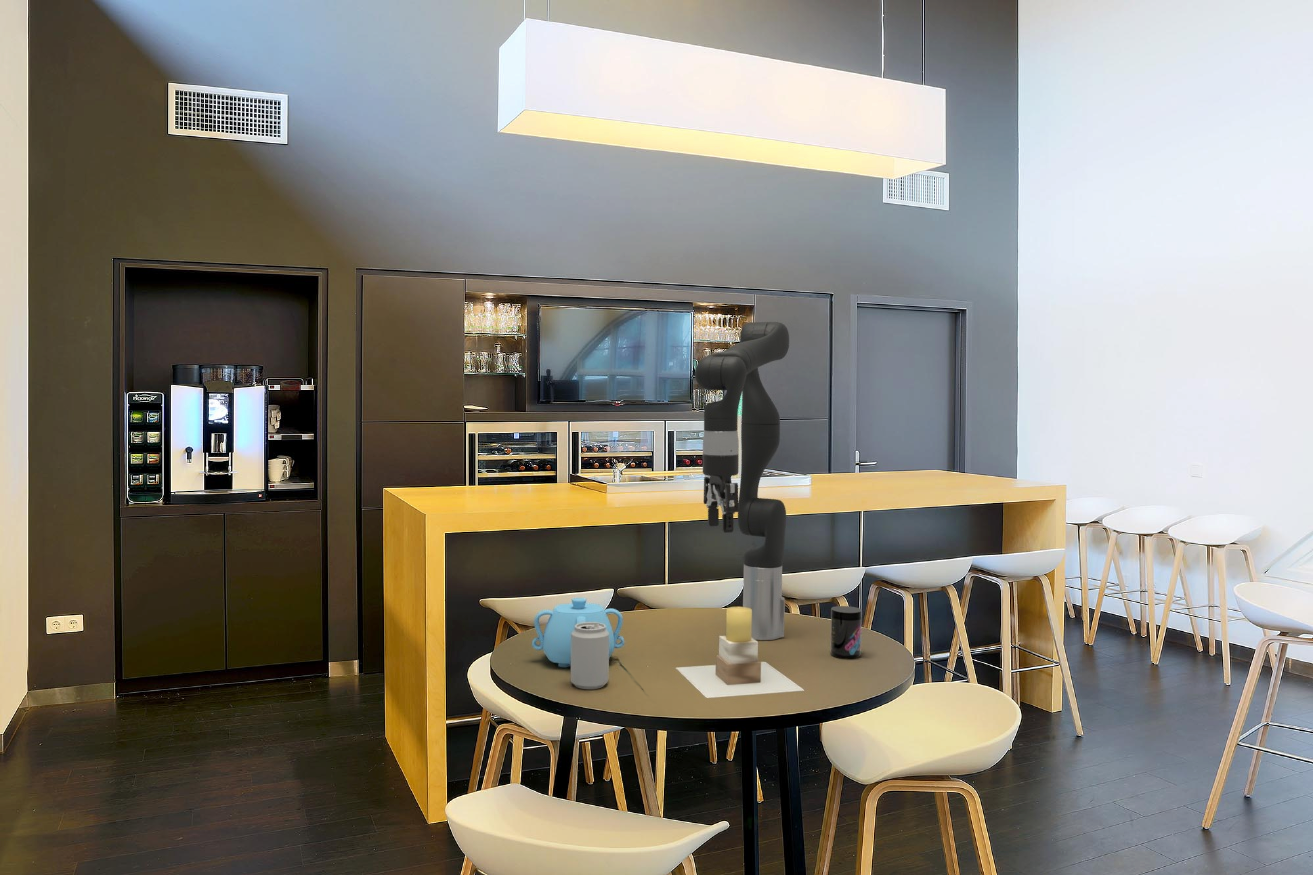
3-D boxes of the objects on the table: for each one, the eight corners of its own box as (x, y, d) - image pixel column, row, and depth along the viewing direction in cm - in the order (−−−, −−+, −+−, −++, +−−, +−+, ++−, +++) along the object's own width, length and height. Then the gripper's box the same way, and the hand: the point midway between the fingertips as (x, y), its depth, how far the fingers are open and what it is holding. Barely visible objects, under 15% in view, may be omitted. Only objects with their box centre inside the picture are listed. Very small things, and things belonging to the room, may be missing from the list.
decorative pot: (574, 677, 189) (575, 611, 188) (524, 660, 200) (525, 598, 199) (631, 661, 201) (632, 599, 200) (581, 646, 212) (582, 587, 211)
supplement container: (840, 660, 204) (841, 613, 203) (824, 652, 210) (825, 606, 210) (866, 658, 206) (867, 611, 205) (850, 650, 212) (851, 605, 212)
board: (765, 666, 198) (765, 661, 198) (804, 695, 179) (804, 690, 179) (675, 672, 193) (675, 667, 193) (706, 703, 174) (706, 697, 174)
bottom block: (747, 672, 190) (748, 653, 190) (760, 682, 184) (761, 662, 183) (715, 674, 188) (715, 655, 188) (727, 685, 182) (727, 664, 182)
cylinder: (745, 635, 189) (746, 606, 188) (754, 641, 184) (755, 611, 184) (722, 636, 187) (723, 607, 187) (731, 643, 182) (731, 612, 182)
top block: (746, 653, 190) (747, 634, 189) (757, 662, 184) (758, 642, 184) (718, 655, 188) (719, 636, 188) (729, 663, 182) (729, 643, 182)
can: (570, 679, 187) (571, 620, 187) (607, 678, 188) (608, 620, 188) (570, 690, 180) (571, 629, 179) (609, 690, 181) (609, 629, 180)
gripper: (750, 454, 189) (749, 533, 190) (725, 449, 202) (724, 522, 203) (715, 455, 186) (715, 535, 187) (692, 450, 200) (692, 524, 201)
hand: (720, 528), depth 195 cm, fingers open, 8 cm apart
